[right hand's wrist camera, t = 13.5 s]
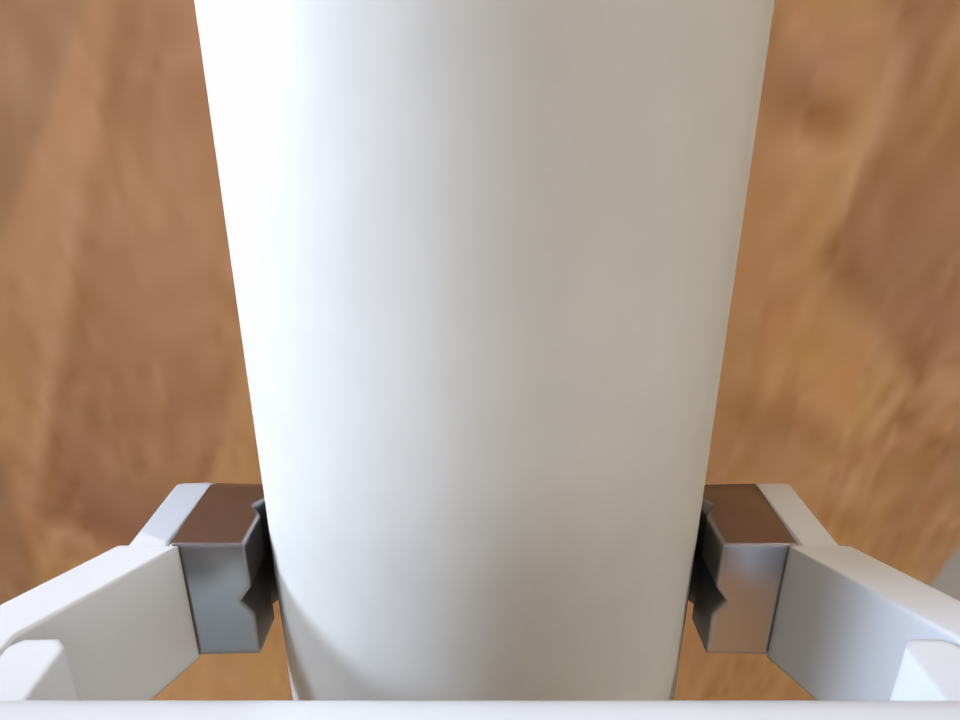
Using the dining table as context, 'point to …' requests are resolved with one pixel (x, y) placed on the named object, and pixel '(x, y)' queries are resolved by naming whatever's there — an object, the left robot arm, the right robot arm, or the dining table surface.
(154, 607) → the right robot arm
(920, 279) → the dining table surface
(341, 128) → the rod
